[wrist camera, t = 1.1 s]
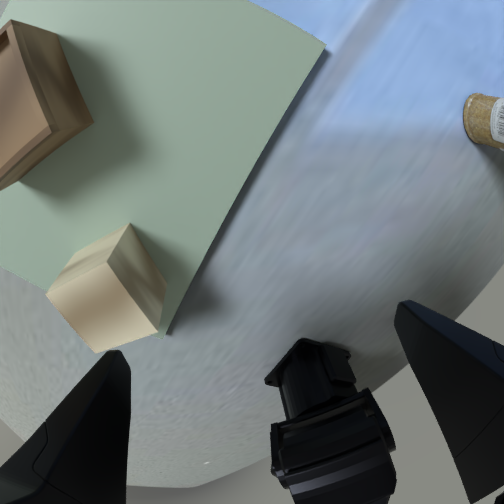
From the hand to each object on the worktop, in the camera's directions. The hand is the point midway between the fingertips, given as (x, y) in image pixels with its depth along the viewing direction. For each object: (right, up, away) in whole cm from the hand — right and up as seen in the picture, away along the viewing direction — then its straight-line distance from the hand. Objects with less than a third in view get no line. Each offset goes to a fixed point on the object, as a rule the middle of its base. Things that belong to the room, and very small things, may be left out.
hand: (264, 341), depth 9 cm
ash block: (-9, +2, +10) cm, 14 cm away
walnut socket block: (-14, +12, +4) cm, 19 cm away
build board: (-11, +10, +7) cm, 16 cm away
